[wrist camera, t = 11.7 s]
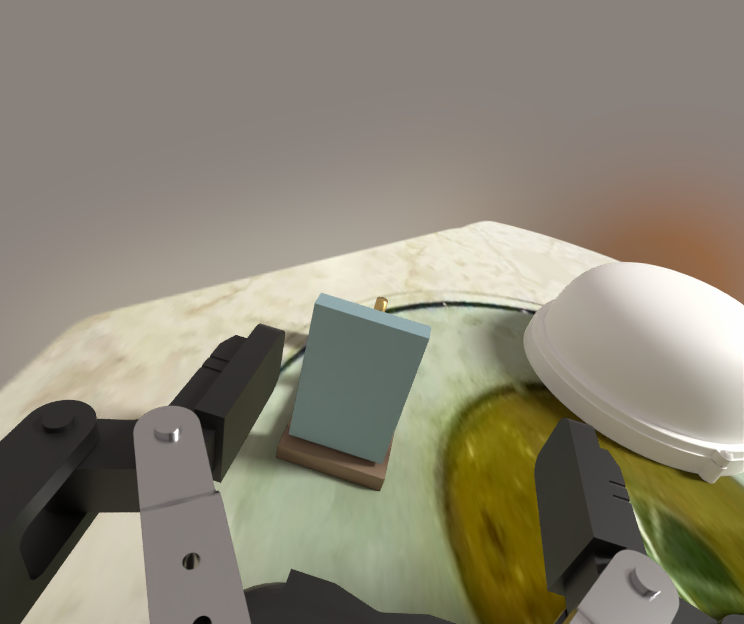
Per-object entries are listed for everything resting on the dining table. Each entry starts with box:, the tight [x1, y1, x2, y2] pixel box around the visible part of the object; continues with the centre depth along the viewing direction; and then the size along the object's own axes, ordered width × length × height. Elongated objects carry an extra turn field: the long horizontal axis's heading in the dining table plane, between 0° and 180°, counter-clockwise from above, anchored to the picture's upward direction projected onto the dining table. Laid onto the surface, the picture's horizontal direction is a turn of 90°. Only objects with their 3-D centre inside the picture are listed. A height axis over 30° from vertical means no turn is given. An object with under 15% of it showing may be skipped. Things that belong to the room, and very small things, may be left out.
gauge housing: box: [276, 417, 395, 491], centre depth 45 cm, size 18×9×6 cm, turn 169°
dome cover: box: [523, 262, 744, 483], centre depth 58 cm, size 32×30×14 cm
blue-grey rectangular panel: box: [289, 293, 431, 464], centre depth 37 cm, size 4×8×13 cm, turn 79°
